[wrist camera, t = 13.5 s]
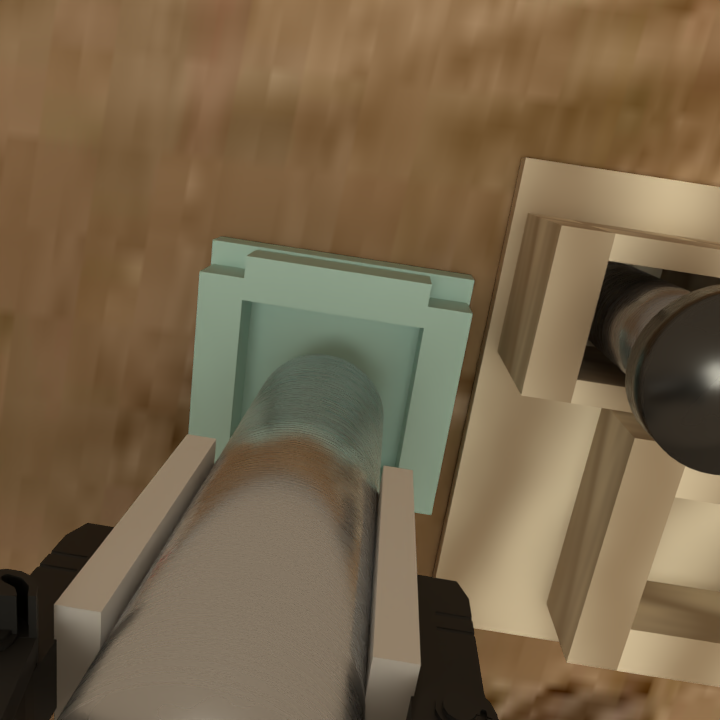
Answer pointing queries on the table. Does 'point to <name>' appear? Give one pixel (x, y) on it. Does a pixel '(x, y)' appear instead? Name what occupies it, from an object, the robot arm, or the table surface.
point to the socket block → (585, 439)
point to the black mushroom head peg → (665, 359)
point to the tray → (333, 341)
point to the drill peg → (260, 570)
